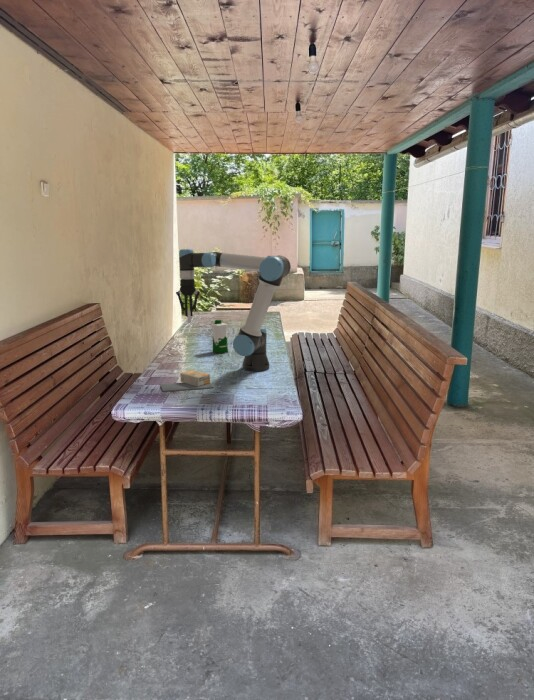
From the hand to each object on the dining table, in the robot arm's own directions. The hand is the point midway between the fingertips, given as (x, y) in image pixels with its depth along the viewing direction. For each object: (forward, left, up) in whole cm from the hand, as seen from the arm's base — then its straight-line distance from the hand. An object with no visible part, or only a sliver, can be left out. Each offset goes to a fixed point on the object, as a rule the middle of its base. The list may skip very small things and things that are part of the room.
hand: (189, 322), depth 286 cm
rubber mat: (+7, +35, -26) cm, 44 cm away
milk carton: (-24, -36, -26) cm, 51 cm away
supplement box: (+6, +25, -23) cm, 35 cm away
